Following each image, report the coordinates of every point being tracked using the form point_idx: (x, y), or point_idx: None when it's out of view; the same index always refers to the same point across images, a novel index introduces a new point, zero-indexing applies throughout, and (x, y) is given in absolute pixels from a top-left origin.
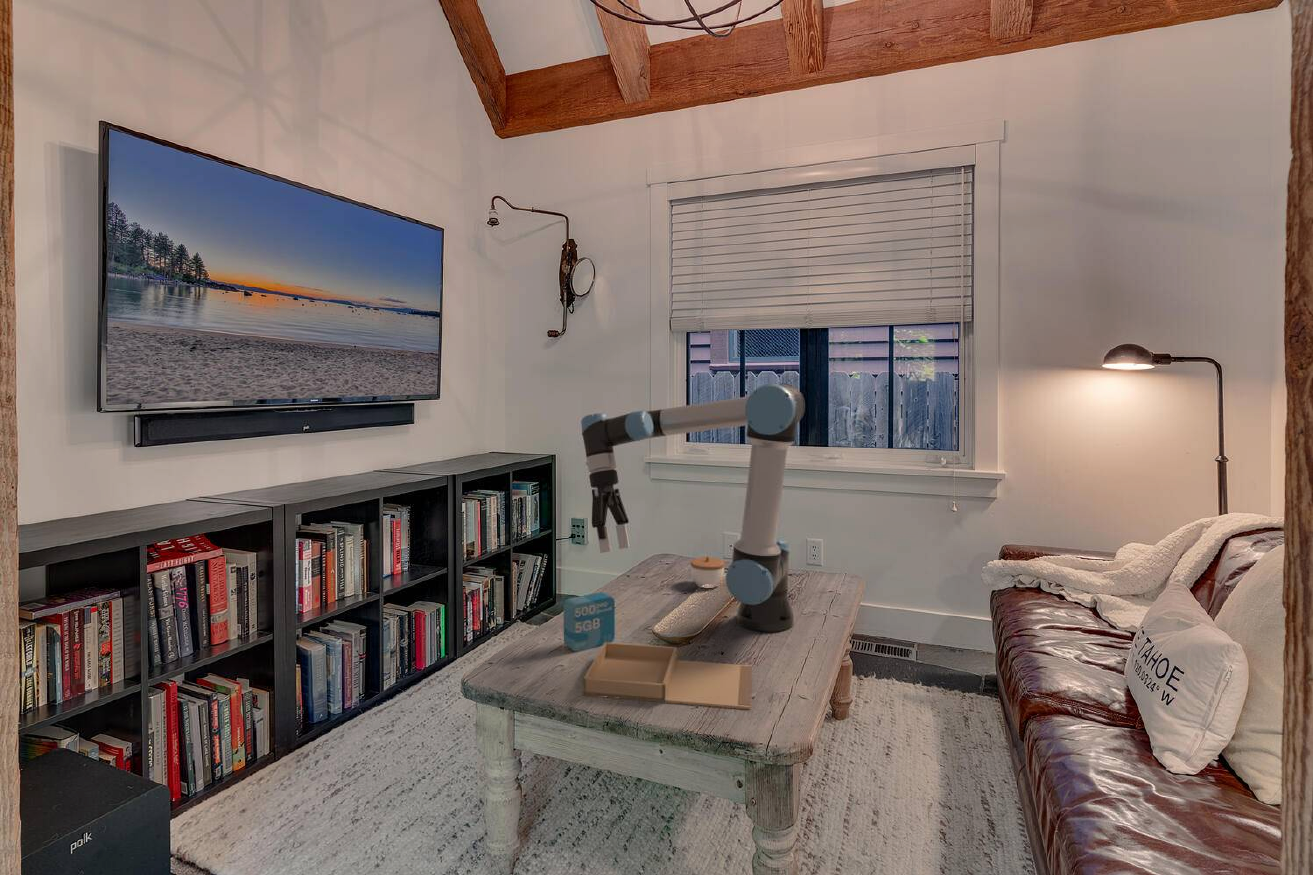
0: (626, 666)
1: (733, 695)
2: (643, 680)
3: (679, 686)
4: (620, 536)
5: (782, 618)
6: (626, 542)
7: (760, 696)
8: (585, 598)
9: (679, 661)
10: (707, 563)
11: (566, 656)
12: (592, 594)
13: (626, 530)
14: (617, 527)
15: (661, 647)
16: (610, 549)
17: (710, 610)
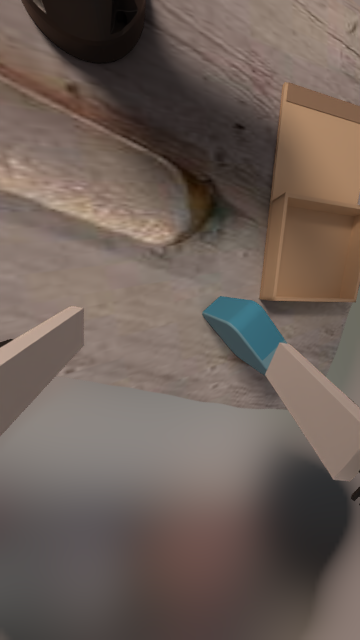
0: (293, 266)
1: (352, 129)
2: (323, 241)
3: (332, 197)
4: (51, 364)
5: None
6: (71, 322)
7: (348, 92)
8: (274, 351)
9: (275, 197)
10: None
11: None
12: (254, 345)
13: (9, 344)
14: (8, 415)
15: (285, 217)
16: (288, 346)
17: (39, 121)
